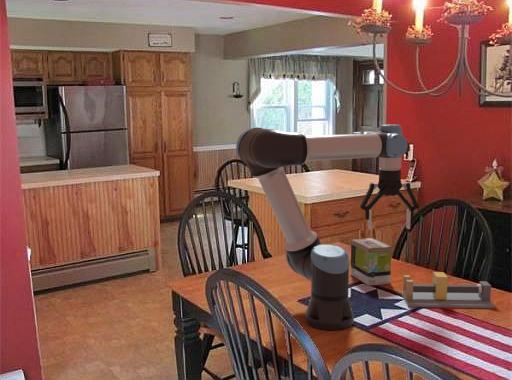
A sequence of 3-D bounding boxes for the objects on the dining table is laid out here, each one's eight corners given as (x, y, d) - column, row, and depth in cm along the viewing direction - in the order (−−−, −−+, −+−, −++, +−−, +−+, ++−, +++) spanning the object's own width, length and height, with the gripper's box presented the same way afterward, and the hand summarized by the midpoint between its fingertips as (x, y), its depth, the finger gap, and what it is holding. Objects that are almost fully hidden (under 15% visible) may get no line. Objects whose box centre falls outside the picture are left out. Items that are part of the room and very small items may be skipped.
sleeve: (446, 299, 182) (447, 277, 181) (435, 299, 182) (436, 276, 181) (442, 294, 187) (443, 272, 186) (432, 294, 188) (433, 272, 186)
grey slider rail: (493, 308, 178) (495, 285, 177) (408, 306, 180) (408, 284, 179) (481, 295, 190) (483, 273, 188) (401, 294, 192) (402, 272, 191)
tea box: (391, 283, 204) (392, 246, 201) (367, 286, 201) (368, 248, 199) (372, 272, 218) (372, 236, 216) (349, 274, 215) (350, 238, 213)
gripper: (423, 167, 190) (421, 225, 193) (352, 168, 191) (351, 226, 194) (429, 169, 182) (427, 230, 186) (355, 170, 183) (355, 231, 187)
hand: (388, 228), depth 190 cm, fingers open, 13 cm apart
